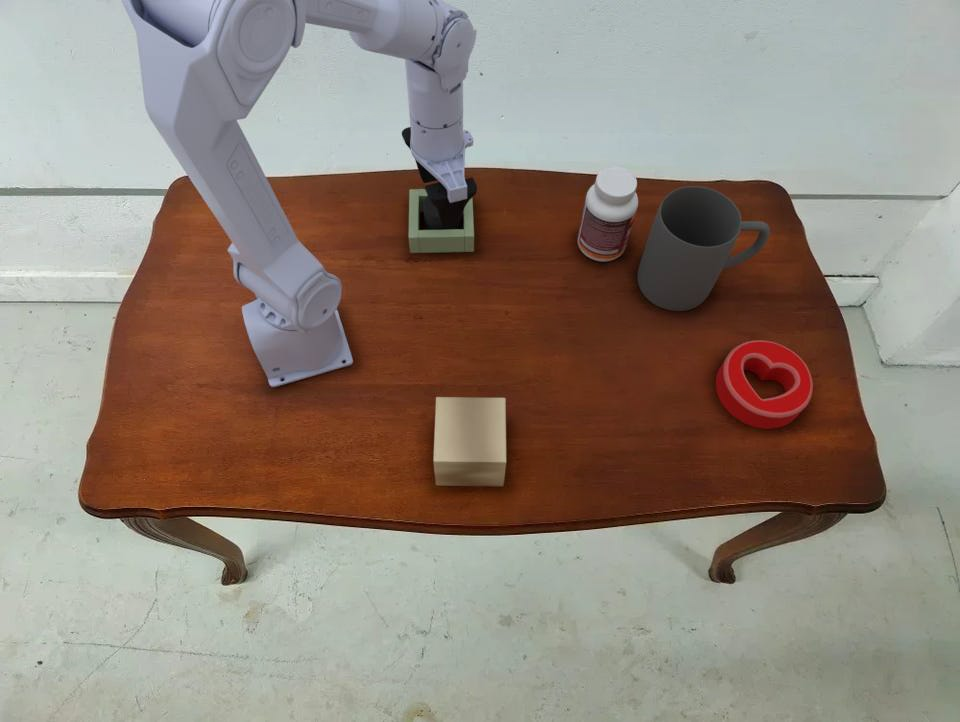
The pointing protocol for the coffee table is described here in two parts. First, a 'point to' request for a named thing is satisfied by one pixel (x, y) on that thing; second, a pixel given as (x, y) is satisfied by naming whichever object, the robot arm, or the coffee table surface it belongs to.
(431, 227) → the pad plug
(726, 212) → the mug
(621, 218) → the pill bottle
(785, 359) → the decorative ornament
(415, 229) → the holder
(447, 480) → the stand
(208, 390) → the coffee table surface
